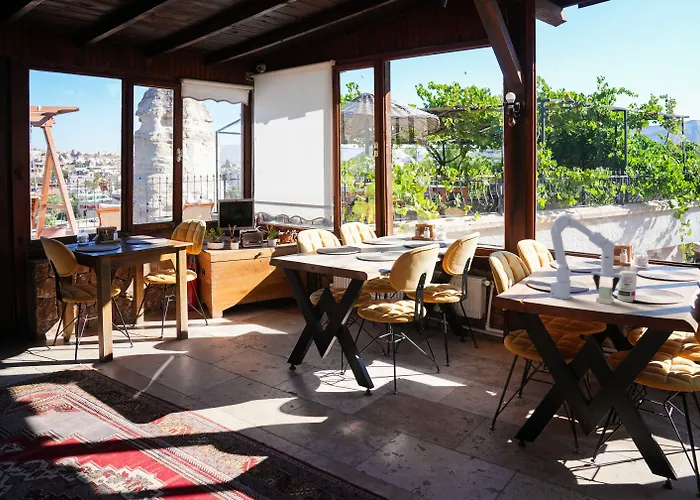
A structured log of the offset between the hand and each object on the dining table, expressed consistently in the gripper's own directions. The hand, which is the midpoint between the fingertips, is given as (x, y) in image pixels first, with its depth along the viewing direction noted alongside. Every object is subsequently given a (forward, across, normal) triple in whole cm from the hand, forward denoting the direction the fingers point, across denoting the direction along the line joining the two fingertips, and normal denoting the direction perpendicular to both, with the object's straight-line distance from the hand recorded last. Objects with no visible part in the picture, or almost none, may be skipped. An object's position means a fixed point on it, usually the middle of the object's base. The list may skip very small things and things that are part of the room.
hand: (605, 290), depth 294 cm
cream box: (+6, 0, 0) cm, 6 cm away
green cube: (+3, 0, 0) cm, 3 cm away
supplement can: (+6, +8, +10) cm, 14 cm away
